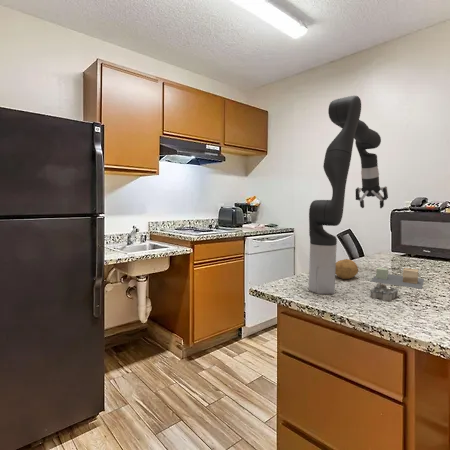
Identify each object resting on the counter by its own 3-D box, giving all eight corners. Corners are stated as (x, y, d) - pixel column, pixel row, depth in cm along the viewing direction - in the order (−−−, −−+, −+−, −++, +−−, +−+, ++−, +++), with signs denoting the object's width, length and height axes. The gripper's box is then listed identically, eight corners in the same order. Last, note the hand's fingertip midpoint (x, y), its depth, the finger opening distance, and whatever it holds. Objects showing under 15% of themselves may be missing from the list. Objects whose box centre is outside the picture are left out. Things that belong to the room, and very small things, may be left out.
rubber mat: (421, 290, 115) (421, 288, 115) (369, 282, 126) (369, 281, 126) (424, 279, 132) (424, 278, 132) (378, 273, 142) (378, 272, 142)
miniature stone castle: (379, 292, 113) (380, 281, 113) (401, 297, 107) (401, 285, 107) (366, 297, 106) (367, 285, 106) (389, 302, 101) (389, 290, 100)
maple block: (417, 283, 122) (417, 271, 122) (402, 282, 125) (403, 269, 125) (417, 281, 127) (418, 269, 126) (403, 279, 129) (404, 268, 129)
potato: (328, 280, 129) (329, 261, 128) (337, 274, 140) (338, 257, 140) (352, 284, 123) (353, 264, 123) (360, 277, 135) (361, 259, 134)
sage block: (386, 279, 129) (386, 270, 129) (376, 278, 131) (376, 268, 131) (387, 277, 132) (388, 268, 132) (377, 276, 135) (378, 267, 134)
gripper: (352, 178, 149) (354, 210, 154) (384, 177, 140) (386, 210, 145) (356, 174, 154) (359, 205, 159) (388, 173, 145) (389, 205, 150)
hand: (372, 207), depth 152 cm, fingers open, 8 cm apart
